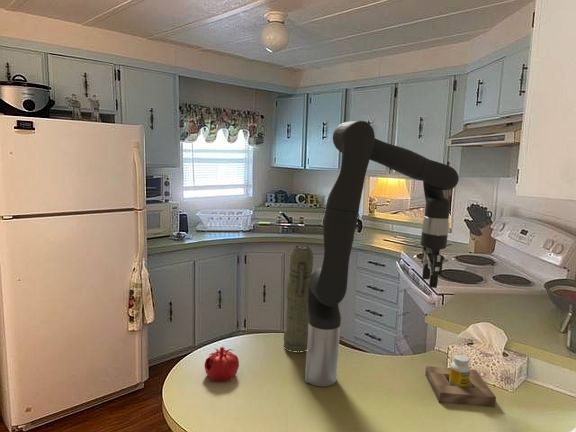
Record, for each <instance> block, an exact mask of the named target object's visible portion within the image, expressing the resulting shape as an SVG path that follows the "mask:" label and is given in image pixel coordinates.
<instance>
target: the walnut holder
mask: <svg viewBox="0 0 576 432" xmlns="http://www.w3.org/2000/svg"><path fill="white" fill-rule="evenodd" d="M449 376H450V367H446V366H445V367H442V366H431V365H426V366H425V377H426V379H427V381H428V383H429V385H430V387H431V390H432V391H433V394H434V396H435V398H436V400H437V402H438V403H441V404H453V405H462V406H463V405H464V406H478V407H486V408H495V406H496V399H497V397H496V395H495V393H494V392H493V391H492V390H491V389H490V387H489V386H488V384H487V383H486V381H485V380H484V379H483V378H482V376H481V375H480V374H479V372H478V371H477V370H476V369H470V377H469V385H468V387H459V386H451V385H450V384H449Z"/></svg>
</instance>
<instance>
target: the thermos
mask: <svg viewBox="0 0 576 432" xmlns="http://www.w3.org/2000/svg"><path fill="white" fill-rule="evenodd" d="M289 256H290V257H289V260H290V261H289V273H288V274H289V275H288V278H287V281H286V292H285V293H286V294H285V295H286V300H287V301H286V302H287V304H286V305H287V306H286V318H285V325H284V330H283V348H284V347H285V348H286V349H288V350H291V351H297V352H298V351H299V352H300V351H305V350H307V340H308V325H309V314H308V288H309V280H310V277H311V275H312V273H313V269H314V254H313V250H312V248H311V247H310V246H307V245H296V246H294V247H293V248H292V250H291V252H290V255H289ZM285 348H284V349H285ZM286 349H285V350H286Z"/></svg>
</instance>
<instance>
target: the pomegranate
mask: <svg viewBox="0 0 576 432" xmlns="http://www.w3.org/2000/svg"><path fill="white" fill-rule="evenodd" d="M215 350H216V351H214V352H211V353H210V354H209V355H208V357H207V358H206V359H205V360H204V361H205V362H204V370H205V373H206V376H207V377H208V378H209V379H210V380H211V381H213V382H217V383H222V382H229V381H231V380H232V379H233V378H235V376H236V375H237V373H238V370H239V367H240V361H239V357H238V355H236V354H234V353H233V352H234V351H235V350H234V349H232V348H229V349H226V348H225V347H224V346H220V348H215ZM231 351H233V352H231Z"/></svg>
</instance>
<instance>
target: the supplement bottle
mask: <svg viewBox="0 0 576 432" xmlns="http://www.w3.org/2000/svg"><path fill="white" fill-rule="evenodd" d="M469 363H470V358H469V357H468V356H465V355H462V354H455V355H453V361H452V362H451V363H450V366H449V368H450V376H449V384H450V385H451V386H459V387H468V385H469V377H470V370H471V366H470V365H469Z"/></svg>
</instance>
